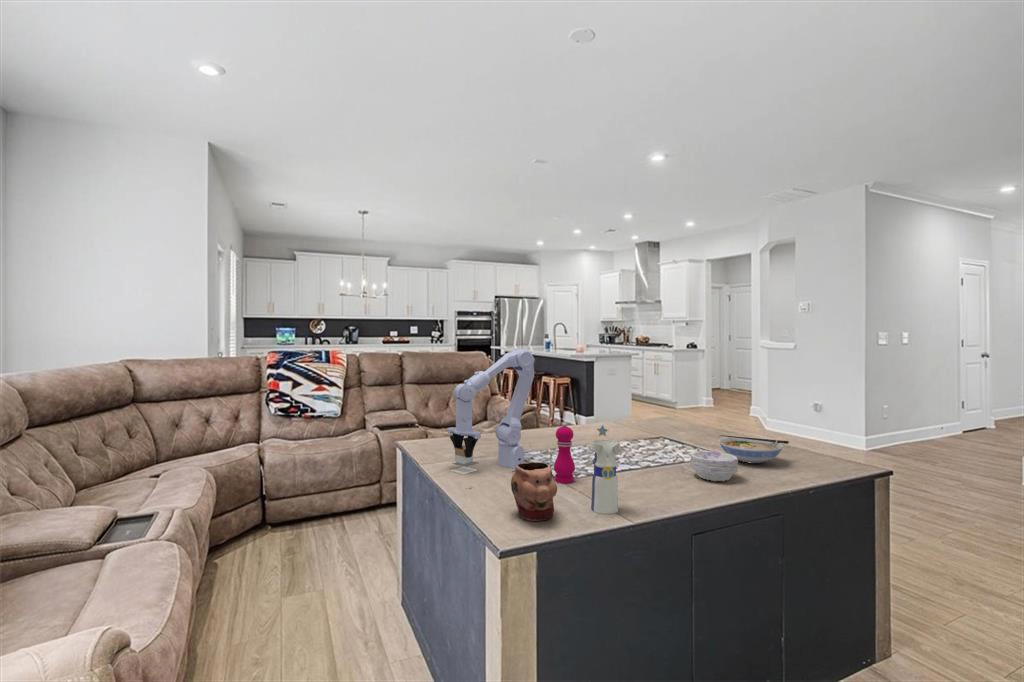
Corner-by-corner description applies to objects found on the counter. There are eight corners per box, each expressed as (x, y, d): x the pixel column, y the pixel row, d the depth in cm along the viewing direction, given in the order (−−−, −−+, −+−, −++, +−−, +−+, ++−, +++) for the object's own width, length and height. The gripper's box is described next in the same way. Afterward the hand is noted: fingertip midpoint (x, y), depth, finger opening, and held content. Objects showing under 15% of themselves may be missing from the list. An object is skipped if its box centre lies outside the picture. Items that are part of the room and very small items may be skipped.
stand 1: (479, 466, 188) (479, 462, 188) (465, 470, 182) (465, 466, 182) (465, 462, 192) (465, 459, 192) (452, 466, 187) (452, 463, 187)
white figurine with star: (624, 514, 139) (625, 425, 139) (594, 515, 139) (595, 425, 138) (616, 503, 148) (616, 419, 147) (587, 504, 147) (588, 419, 146)
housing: (473, 461, 178) (472, 447, 178) (464, 463, 175) (463, 449, 174) (463, 458, 181) (463, 445, 181) (455, 461, 178) (454, 447, 177)
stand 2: (477, 473, 178) (477, 469, 178) (464, 477, 173) (464, 474, 173) (464, 469, 183) (464, 466, 183) (450, 473, 177) (450, 470, 177)
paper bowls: (718, 470, 183) (718, 448, 183) (747, 483, 168) (747, 459, 168) (681, 473, 179) (681, 451, 179) (707, 486, 164) (708, 462, 164)
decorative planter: (499, 504, 147) (499, 457, 146) (537, 499, 151) (537, 453, 151) (527, 530, 128) (528, 476, 128) (569, 523, 133) (569, 471, 132)
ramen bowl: (709, 463, 193) (709, 442, 193) (722, 451, 212) (722, 432, 211) (782, 473, 178) (782, 451, 178) (789, 460, 197) (789, 439, 197)
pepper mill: (576, 478, 172) (577, 420, 172) (572, 484, 165) (572, 424, 165) (556, 476, 175) (556, 419, 174) (551, 482, 168) (551, 423, 167)
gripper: (441, 417, 179) (441, 454, 179) (470, 422, 170) (470, 461, 170) (455, 414, 184) (455, 451, 185) (484, 419, 175) (484, 457, 175)
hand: (463, 456), depth 178 cm, fingers closed on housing, 4 cm apart
